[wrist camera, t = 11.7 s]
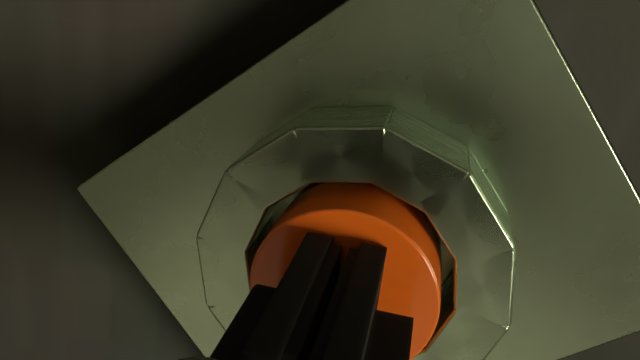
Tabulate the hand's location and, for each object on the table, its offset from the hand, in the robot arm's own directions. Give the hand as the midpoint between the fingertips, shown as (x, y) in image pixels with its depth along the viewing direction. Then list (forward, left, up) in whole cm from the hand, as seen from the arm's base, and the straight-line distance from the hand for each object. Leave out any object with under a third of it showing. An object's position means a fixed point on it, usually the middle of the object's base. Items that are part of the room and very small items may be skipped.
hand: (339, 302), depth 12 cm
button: (0, 0, -2) cm, 2 cm away
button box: (0, 0, -5) cm, 5 cm away
